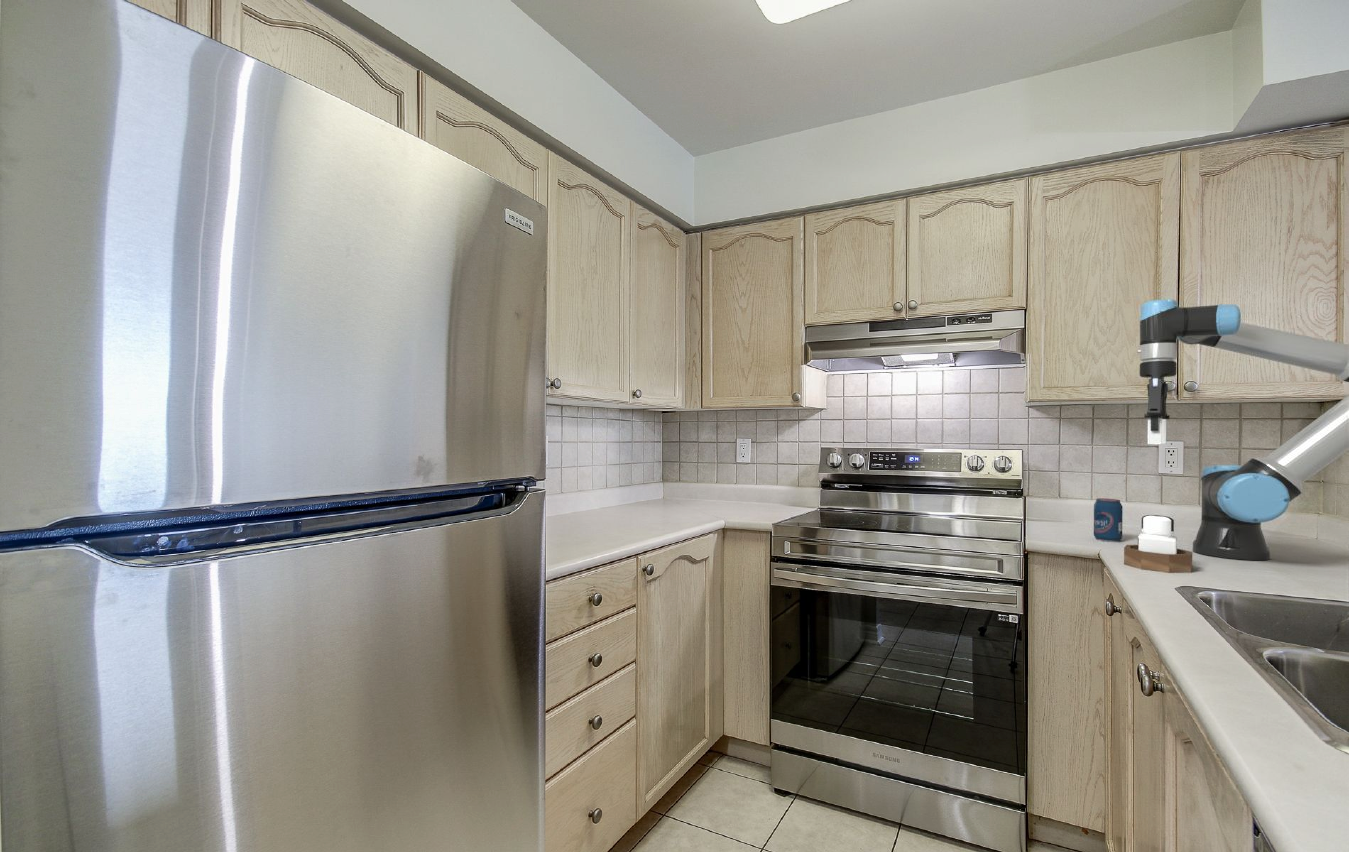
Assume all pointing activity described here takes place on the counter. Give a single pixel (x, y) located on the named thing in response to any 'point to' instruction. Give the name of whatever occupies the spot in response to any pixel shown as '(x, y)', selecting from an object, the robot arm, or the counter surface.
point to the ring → (1158, 560)
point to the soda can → (1108, 520)
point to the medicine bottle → (1157, 535)
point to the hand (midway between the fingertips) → (1157, 444)
